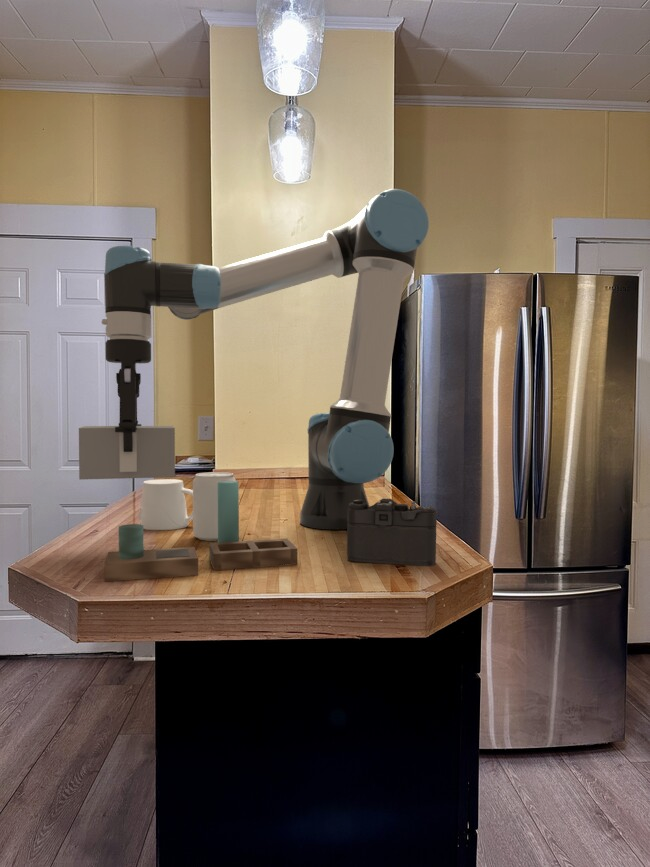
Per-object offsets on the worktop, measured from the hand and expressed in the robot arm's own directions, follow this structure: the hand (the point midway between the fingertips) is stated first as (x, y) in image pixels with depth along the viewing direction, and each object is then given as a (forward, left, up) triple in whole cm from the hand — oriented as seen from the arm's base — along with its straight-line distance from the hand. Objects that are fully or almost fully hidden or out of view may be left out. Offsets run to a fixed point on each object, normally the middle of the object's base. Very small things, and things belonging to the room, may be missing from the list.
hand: (129, 468), depth 109 cm
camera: (-42, +18, -14) cm, 48 cm away
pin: (-16, +8, -14) cm, 23 cm away
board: (-4, +17, -14) cm, 22 cm away
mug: (-7, -18, -14) cm, 24 cm away
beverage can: (-15, -5, -14) cm, 21 cm away
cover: (0, 0, -1) cm, 1 cm away
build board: (-19, +15, -14) cm, 28 cm away
